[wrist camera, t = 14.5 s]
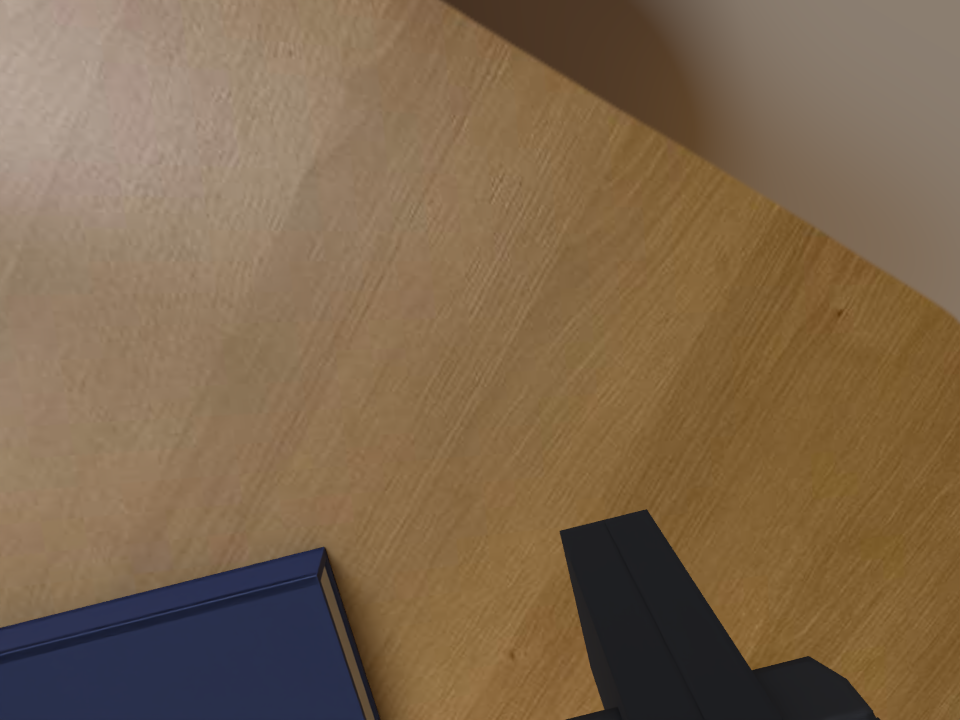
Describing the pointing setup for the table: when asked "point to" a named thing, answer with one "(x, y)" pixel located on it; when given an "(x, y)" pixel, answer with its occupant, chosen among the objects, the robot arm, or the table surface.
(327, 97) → the table surface
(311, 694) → the book
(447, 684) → the table surface
